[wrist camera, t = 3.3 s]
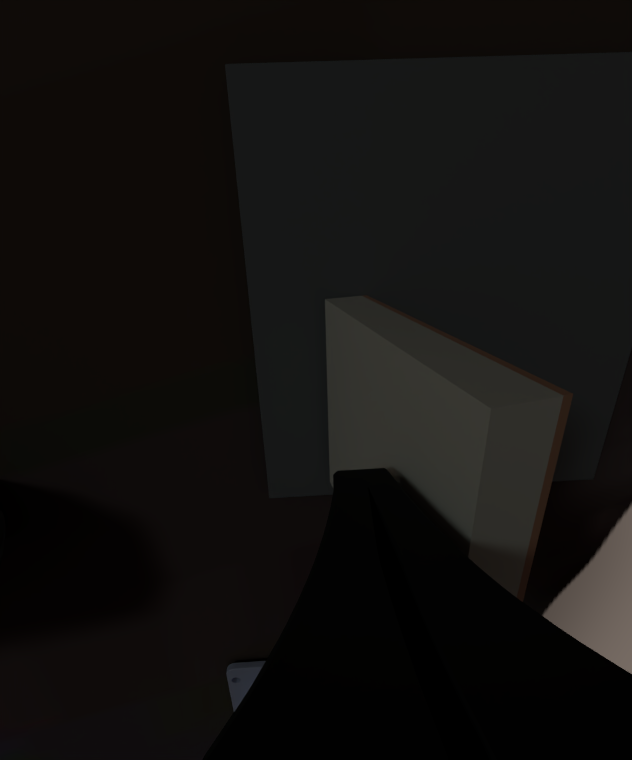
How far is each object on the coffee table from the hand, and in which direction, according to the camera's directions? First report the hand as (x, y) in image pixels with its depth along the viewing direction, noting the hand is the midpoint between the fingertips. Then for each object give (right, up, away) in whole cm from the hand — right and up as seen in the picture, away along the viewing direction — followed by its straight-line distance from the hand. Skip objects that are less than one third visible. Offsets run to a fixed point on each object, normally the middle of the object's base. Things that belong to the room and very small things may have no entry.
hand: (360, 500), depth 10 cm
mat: (+4, +6, +5) cm, 9 cm away
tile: (0, +2, +6) cm, 6 cm away
